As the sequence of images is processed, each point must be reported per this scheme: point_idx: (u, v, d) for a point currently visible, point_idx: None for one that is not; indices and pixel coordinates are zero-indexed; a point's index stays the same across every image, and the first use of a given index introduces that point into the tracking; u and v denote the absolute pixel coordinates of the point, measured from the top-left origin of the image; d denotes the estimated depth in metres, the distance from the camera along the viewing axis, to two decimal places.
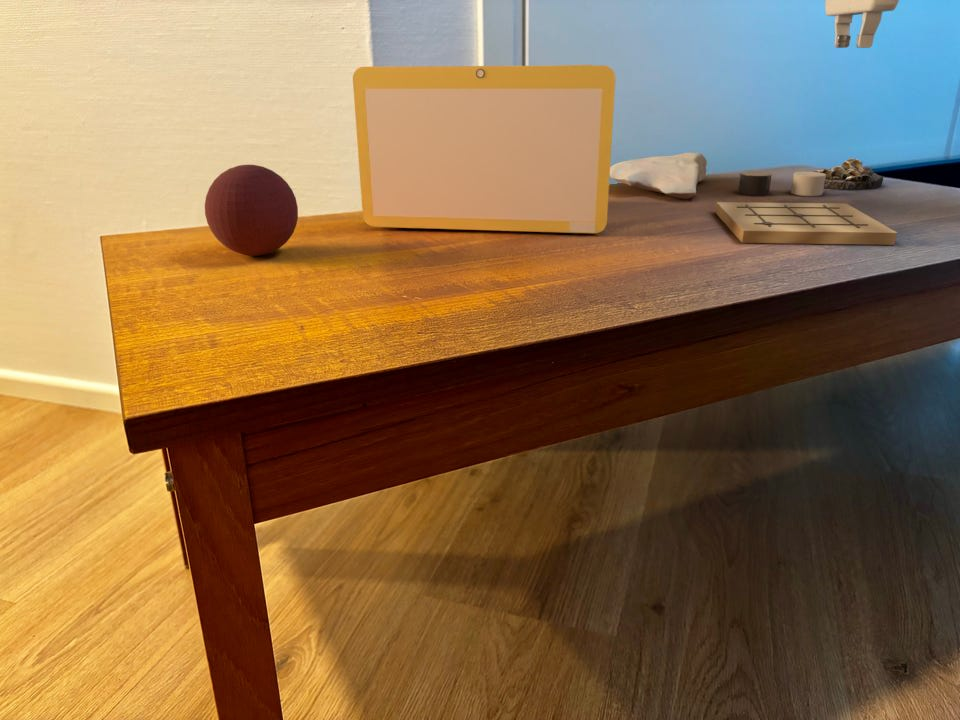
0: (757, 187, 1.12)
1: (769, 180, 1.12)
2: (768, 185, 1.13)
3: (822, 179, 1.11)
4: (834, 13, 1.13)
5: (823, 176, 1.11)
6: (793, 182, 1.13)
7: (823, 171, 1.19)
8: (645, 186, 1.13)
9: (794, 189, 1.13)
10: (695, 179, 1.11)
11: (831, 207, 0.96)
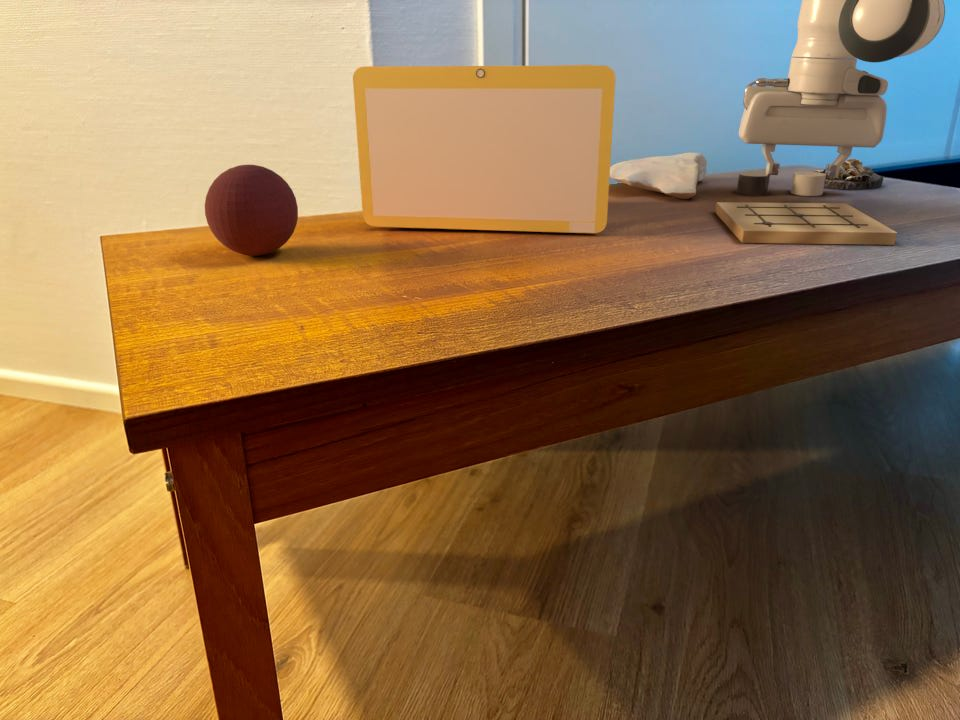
0: (755, 188, 1.12)
1: (768, 181, 1.13)
2: (767, 186, 1.13)
3: (822, 179, 1.11)
4: None
5: (823, 176, 1.11)
6: (793, 182, 1.13)
7: (823, 171, 1.19)
8: (645, 186, 1.13)
9: (794, 189, 1.13)
10: (695, 179, 1.11)
11: (831, 207, 0.96)
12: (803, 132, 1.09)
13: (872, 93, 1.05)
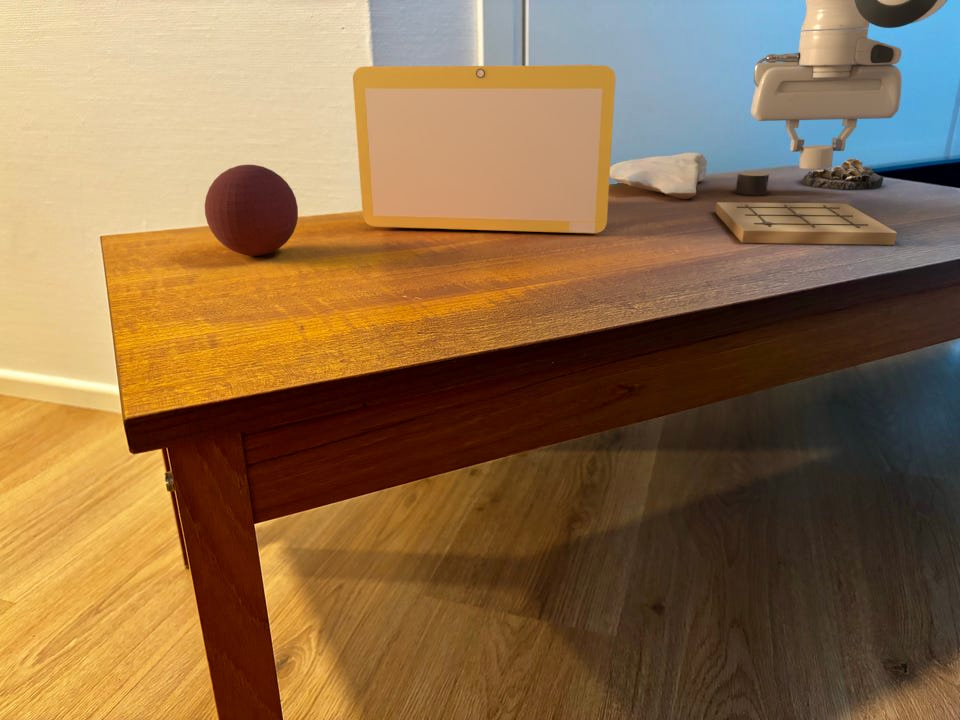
0: (754, 187, 1.12)
1: (767, 180, 1.13)
2: (766, 185, 1.13)
3: (830, 151, 1.10)
4: None
5: (831, 148, 1.10)
6: (800, 156, 1.12)
7: (823, 171, 1.19)
8: (645, 186, 1.13)
9: (801, 163, 1.12)
10: (695, 179, 1.11)
11: (831, 207, 0.96)
12: (816, 107, 1.07)
13: (885, 62, 1.03)
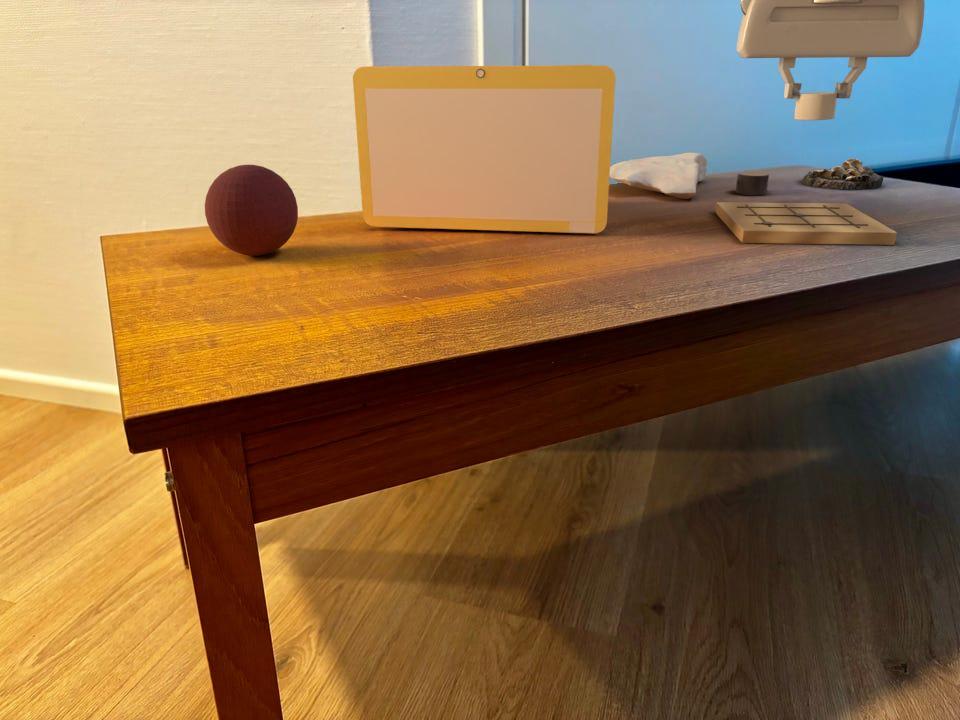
0: (754, 187, 1.12)
1: (767, 180, 1.13)
2: (766, 185, 1.13)
3: (832, 97, 0.88)
4: None
5: (834, 94, 0.88)
6: (796, 105, 0.91)
7: (823, 171, 1.19)
8: (645, 186, 1.13)
9: (797, 113, 0.90)
10: (695, 179, 1.11)
11: (831, 207, 0.96)
12: (818, 40, 0.86)
13: None
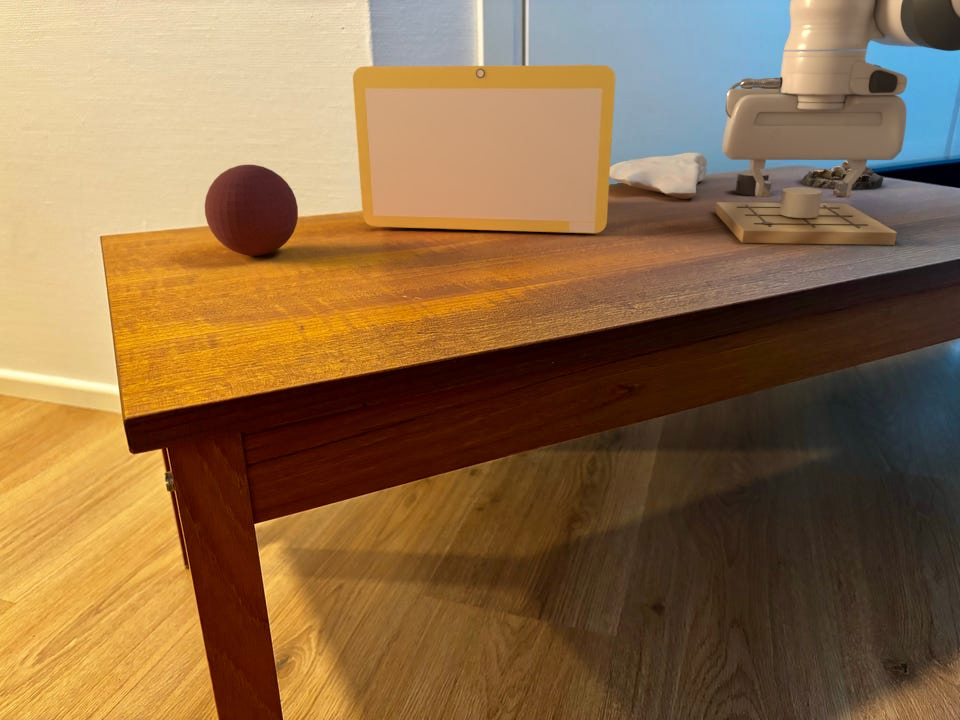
0: (754, 187, 1.12)
1: (767, 180, 1.13)
2: None
3: (817, 197, 0.89)
4: None
5: (819, 194, 0.89)
6: (782, 201, 0.92)
7: (823, 171, 1.19)
8: (645, 186, 1.13)
9: (783, 209, 0.91)
10: (695, 179, 1.11)
11: (831, 207, 0.96)
12: (801, 144, 0.87)
13: (887, 92, 0.83)
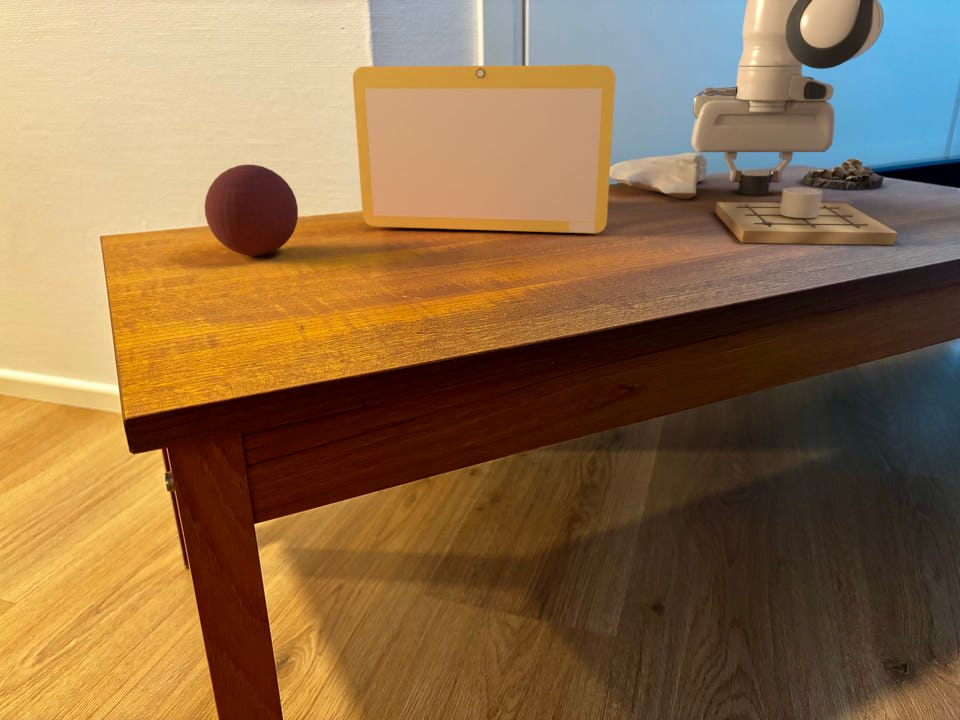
0: (756, 187, 1.12)
1: (769, 180, 1.12)
2: (768, 185, 1.13)
3: (817, 197, 0.89)
4: None
5: (819, 194, 0.89)
6: (782, 201, 0.92)
7: (823, 171, 1.19)
8: (645, 186, 1.13)
9: (783, 209, 0.91)
10: (695, 179, 1.11)
11: (831, 207, 0.96)
12: (753, 139, 1.10)
13: (818, 99, 1.06)
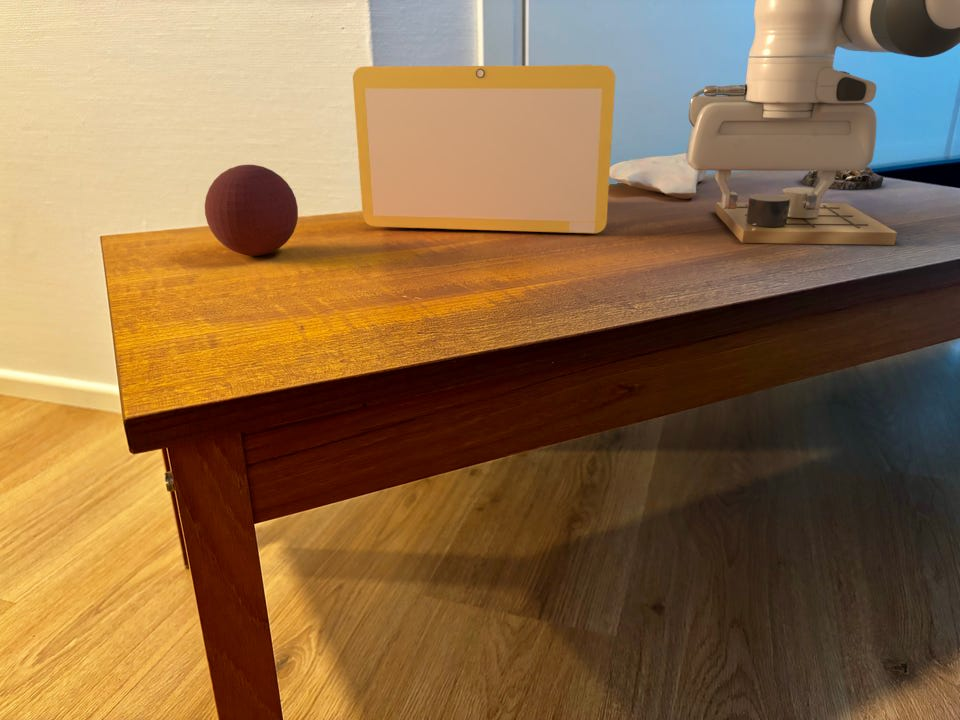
0: (771, 216, 0.86)
1: (787, 207, 0.86)
2: (786, 213, 0.86)
3: None
4: None
5: None
6: None
7: None
8: (645, 186, 1.13)
9: None
10: (695, 179, 1.11)
11: (831, 207, 0.96)
12: (768, 154, 0.83)
13: (856, 100, 0.79)
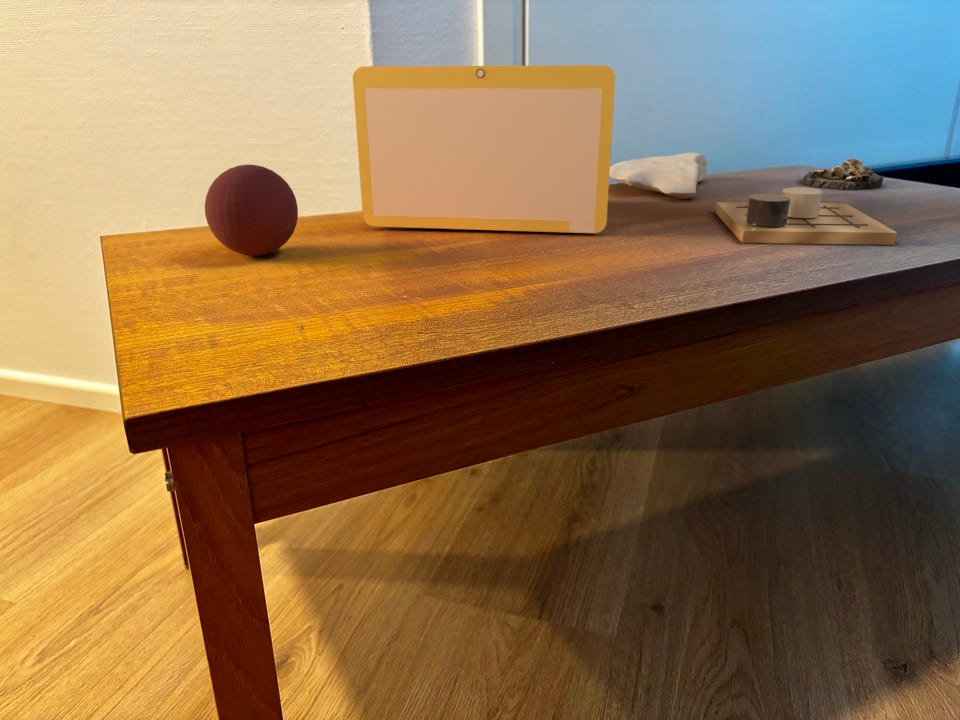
0: (771, 216, 0.86)
1: (787, 207, 0.86)
2: (786, 213, 0.86)
3: (817, 197, 0.89)
4: None
5: (819, 194, 0.89)
6: None
7: (823, 171, 1.19)
8: (645, 186, 1.13)
9: None
10: (695, 179, 1.11)
11: (831, 207, 0.96)
12: None
13: None
